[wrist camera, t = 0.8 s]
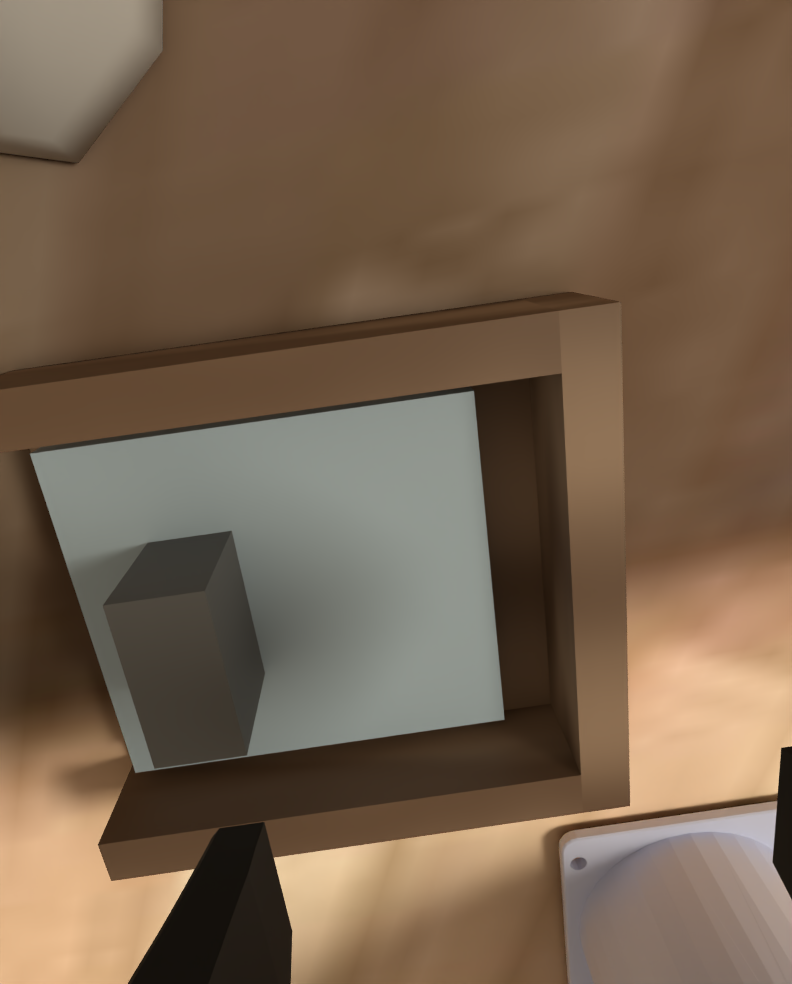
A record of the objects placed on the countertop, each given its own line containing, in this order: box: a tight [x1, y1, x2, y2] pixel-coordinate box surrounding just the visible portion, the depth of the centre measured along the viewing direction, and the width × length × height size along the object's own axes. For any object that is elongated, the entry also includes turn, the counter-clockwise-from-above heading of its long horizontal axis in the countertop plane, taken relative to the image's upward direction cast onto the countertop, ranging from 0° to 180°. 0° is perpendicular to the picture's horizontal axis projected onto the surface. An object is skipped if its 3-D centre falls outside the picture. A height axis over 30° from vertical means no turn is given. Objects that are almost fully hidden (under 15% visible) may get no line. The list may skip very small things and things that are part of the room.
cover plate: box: [30, 386, 505, 773], centre depth 16 cm, size 9×10×4 cm
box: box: [0, 292, 630, 881], centre depth 17 cm, size 12×13×3 cm
